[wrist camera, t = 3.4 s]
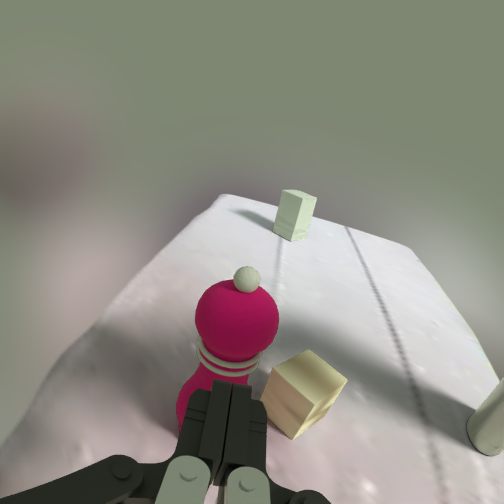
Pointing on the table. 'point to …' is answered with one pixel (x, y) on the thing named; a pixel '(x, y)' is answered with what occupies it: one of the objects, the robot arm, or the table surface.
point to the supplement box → (294, 215)
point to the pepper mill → (230, 333)
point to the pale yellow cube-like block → (301, 392)
